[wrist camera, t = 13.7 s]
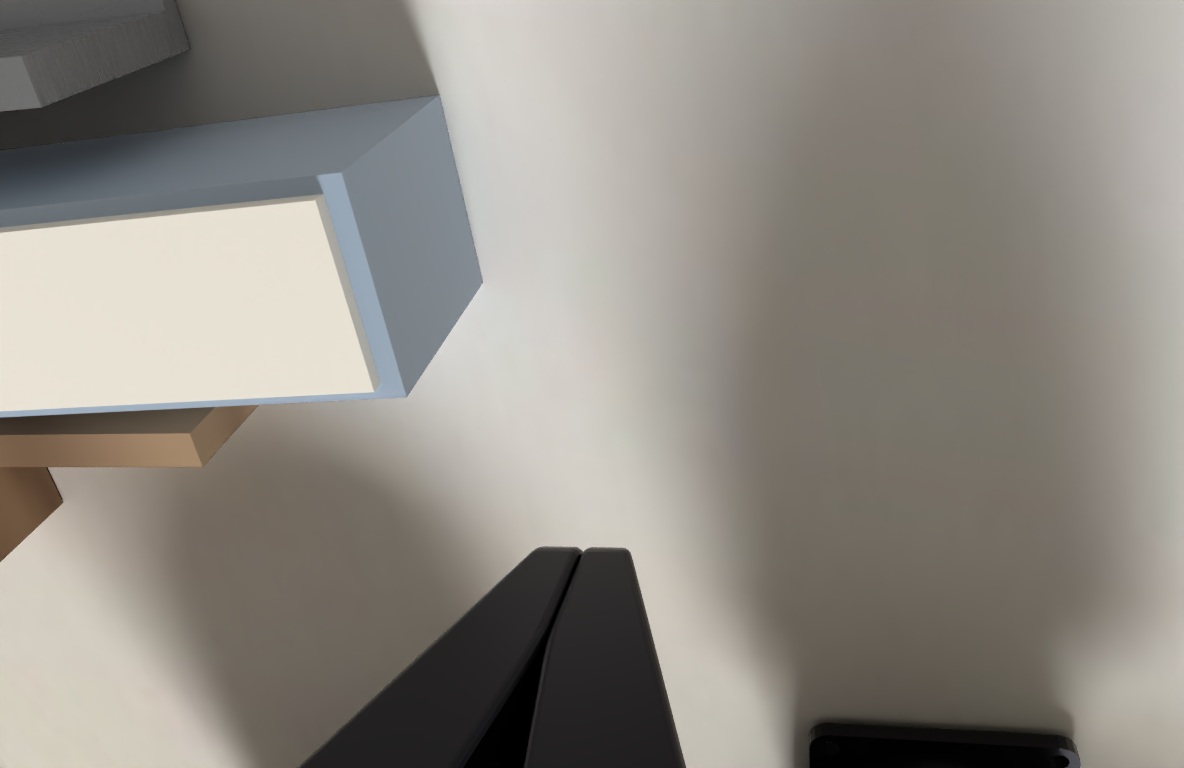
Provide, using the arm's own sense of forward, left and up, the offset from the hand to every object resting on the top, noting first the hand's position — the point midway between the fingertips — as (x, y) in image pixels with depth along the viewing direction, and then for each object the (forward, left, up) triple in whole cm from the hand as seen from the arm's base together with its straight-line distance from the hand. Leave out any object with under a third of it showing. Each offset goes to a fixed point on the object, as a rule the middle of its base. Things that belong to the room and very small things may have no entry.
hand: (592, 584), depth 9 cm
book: (+11, 0, -12) cm, 16 cm away
